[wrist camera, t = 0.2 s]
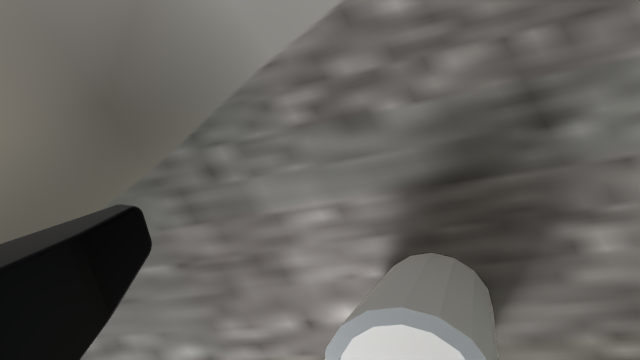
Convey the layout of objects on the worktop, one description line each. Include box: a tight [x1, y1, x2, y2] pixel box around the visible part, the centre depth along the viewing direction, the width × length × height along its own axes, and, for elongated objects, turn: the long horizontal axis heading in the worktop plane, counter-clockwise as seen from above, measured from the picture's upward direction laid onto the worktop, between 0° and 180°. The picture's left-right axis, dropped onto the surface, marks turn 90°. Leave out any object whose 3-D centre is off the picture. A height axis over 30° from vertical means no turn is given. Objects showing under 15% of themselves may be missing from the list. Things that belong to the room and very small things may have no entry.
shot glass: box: [325, 253, 499, 360], centre depth 22 cm, size 7×7×7 cm
